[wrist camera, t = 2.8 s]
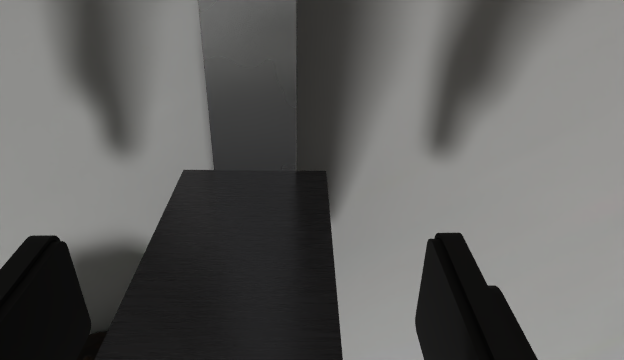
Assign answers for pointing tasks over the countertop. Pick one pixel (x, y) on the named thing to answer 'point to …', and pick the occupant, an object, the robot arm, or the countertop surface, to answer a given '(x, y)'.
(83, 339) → the robot arm
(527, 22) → the countertop surface
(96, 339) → the hand tool
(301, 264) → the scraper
